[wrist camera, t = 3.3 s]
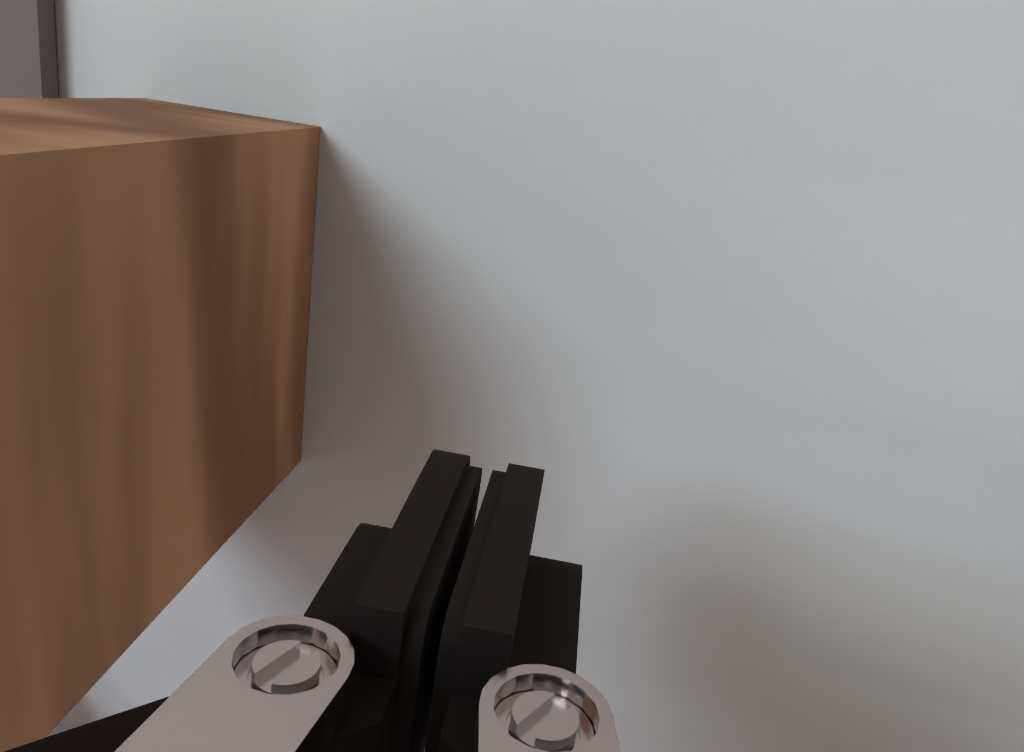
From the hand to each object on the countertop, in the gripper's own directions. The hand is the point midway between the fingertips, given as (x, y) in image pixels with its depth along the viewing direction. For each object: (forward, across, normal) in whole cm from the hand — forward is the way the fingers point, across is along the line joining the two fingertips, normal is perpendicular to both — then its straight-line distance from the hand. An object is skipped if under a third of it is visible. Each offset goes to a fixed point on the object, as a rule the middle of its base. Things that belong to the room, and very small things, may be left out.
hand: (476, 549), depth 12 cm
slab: (+9, +8, 0) cm, 12 cm away
